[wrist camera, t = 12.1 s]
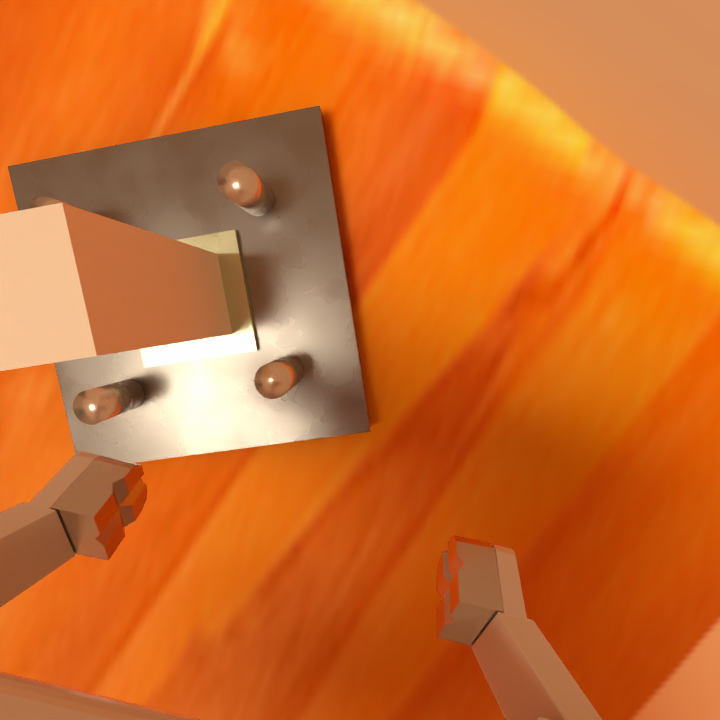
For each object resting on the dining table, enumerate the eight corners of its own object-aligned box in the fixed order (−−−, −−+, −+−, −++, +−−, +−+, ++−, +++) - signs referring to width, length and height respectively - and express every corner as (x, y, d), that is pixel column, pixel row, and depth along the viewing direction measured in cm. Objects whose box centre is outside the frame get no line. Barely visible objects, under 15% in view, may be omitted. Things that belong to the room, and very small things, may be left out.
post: (232, 333, 21) (96, 356, 11) (157, 345, 21) (-41, 377, 11) (217, 253, 21) (62, 202, 11) (140, 267, 21) (-80, 229, 11)
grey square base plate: (370, 426, 23) (367, 450, 19) (92, 463, 24) (33, 494, 20) (322, 115, 21) (307, 69, 17) (24, 172, 22) (-55, 142, 18)
